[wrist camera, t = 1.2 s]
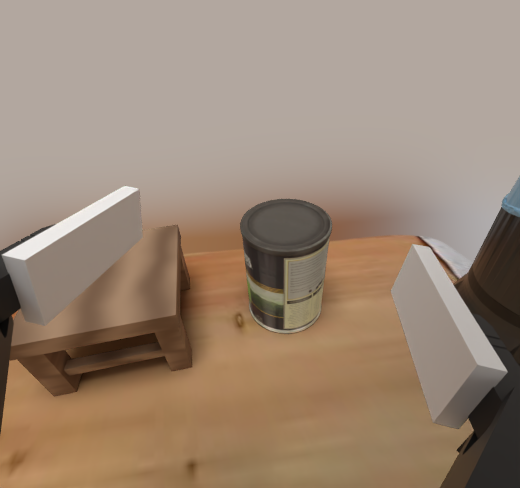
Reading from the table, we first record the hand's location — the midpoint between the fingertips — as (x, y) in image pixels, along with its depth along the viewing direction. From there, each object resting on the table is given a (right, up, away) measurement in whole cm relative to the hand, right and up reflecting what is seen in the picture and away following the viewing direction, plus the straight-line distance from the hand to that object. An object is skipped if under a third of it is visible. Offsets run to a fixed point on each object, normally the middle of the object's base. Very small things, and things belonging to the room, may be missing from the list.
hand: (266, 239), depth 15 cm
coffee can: (+3, -9, +28) cm, 30 cm away
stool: (-17, -11, +26) cm, 34 cm away
